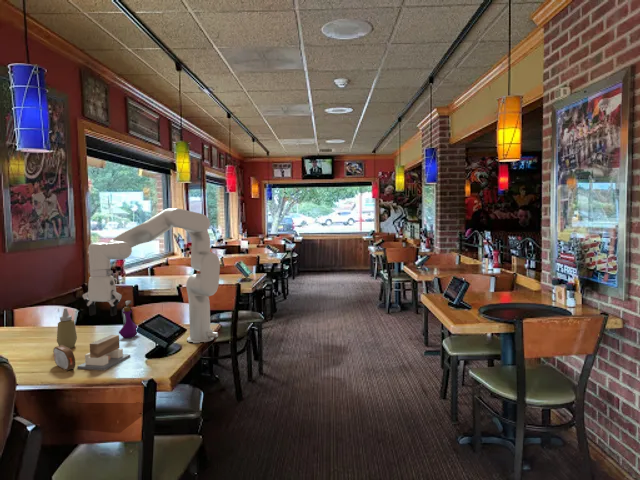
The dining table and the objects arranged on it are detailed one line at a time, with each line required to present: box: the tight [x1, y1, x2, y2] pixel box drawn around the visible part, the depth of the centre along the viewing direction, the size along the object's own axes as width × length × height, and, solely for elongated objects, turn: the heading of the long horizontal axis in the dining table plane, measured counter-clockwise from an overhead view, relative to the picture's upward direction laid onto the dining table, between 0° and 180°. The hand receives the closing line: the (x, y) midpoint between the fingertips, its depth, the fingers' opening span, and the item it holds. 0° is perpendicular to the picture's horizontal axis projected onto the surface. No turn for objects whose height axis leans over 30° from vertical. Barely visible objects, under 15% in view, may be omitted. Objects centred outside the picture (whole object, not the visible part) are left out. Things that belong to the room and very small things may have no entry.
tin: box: [53, 345, 76, 371], centre depth 172 cm, size 15×3×8 cm, turn 51°
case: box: [89, 334, 121, 358], centre depth 178 cm, size 4×13×6 cm, turn 168°
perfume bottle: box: [118, 300, 138, 339], centre depth 215 cm, size 8×8×18 cm
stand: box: [76, 348, 131, 371], centre depth 178 cm, size 12×16×5 cm
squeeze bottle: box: [56, 308, 78, 349], centre depth 199 cm, size 8×8×18 cm
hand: (103, 315), depth 177 cm, fingers open, 9 cm apart
